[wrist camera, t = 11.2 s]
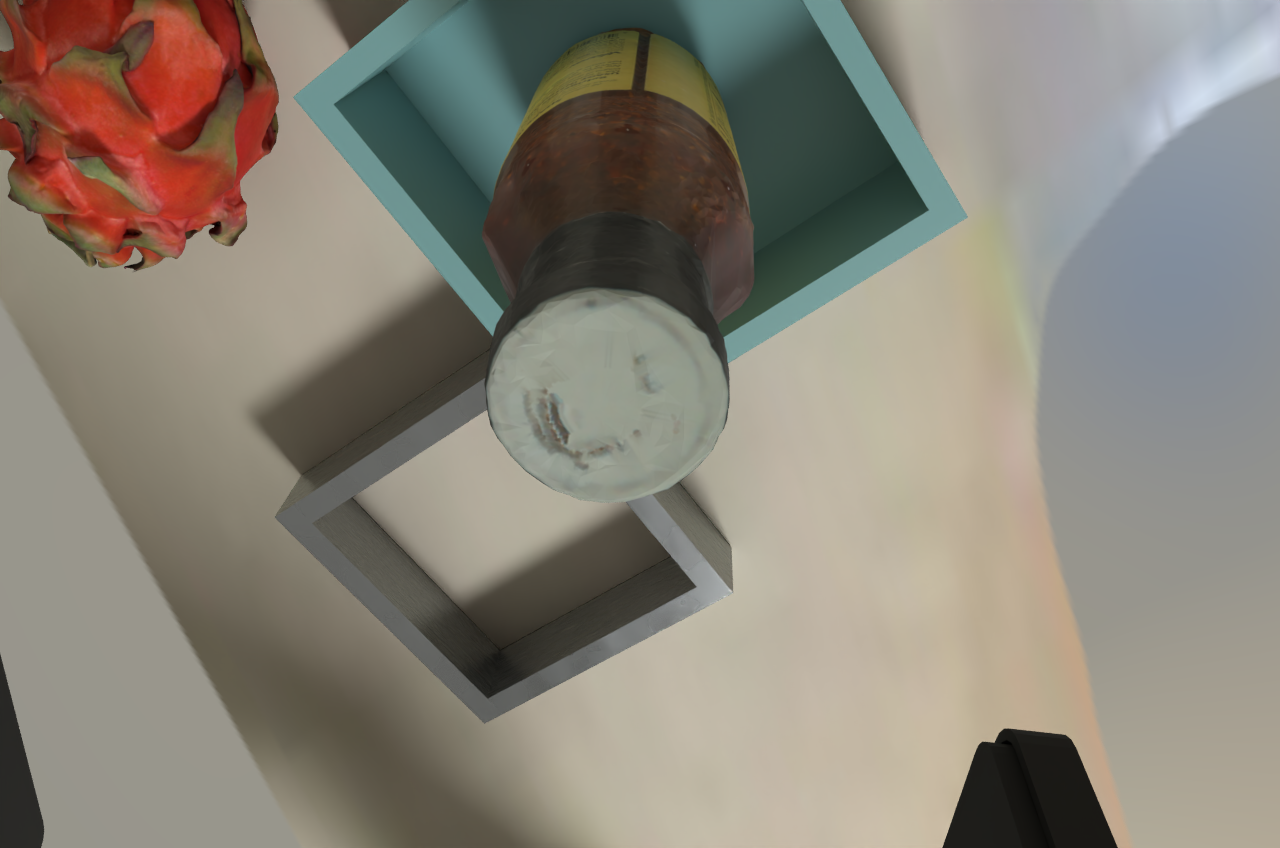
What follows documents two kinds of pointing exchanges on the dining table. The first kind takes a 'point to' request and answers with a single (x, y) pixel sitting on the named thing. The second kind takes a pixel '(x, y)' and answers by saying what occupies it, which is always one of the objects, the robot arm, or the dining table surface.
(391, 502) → the dining table surface
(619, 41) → the sauce bottle
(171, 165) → the dragon fruit
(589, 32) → the bin
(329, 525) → the collar
